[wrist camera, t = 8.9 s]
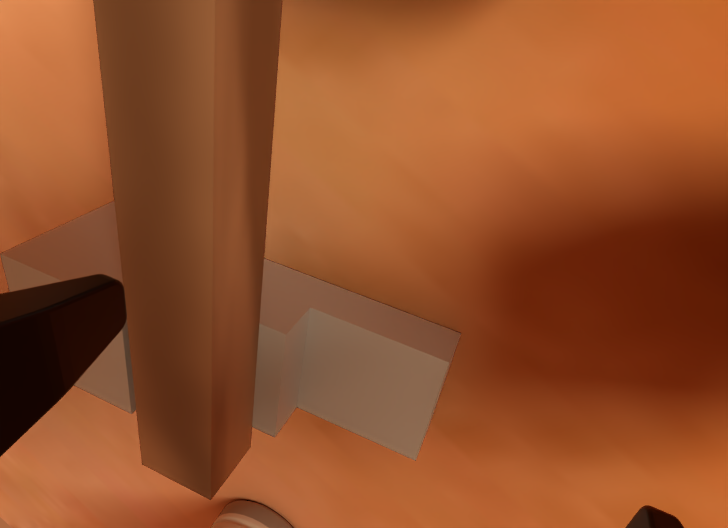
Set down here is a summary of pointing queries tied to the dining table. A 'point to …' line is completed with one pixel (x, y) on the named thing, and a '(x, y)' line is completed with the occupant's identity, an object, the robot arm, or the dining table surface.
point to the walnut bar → (191, 216)
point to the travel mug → (249, 516)
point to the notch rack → (277, 342)
